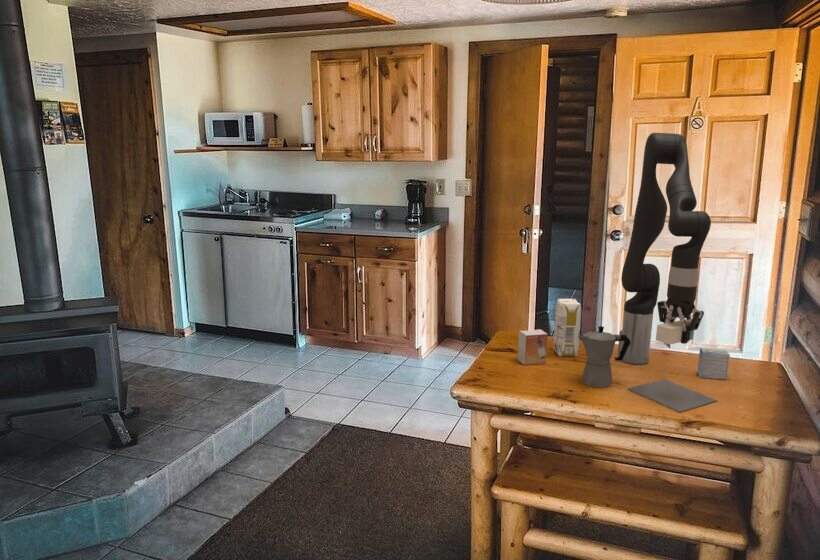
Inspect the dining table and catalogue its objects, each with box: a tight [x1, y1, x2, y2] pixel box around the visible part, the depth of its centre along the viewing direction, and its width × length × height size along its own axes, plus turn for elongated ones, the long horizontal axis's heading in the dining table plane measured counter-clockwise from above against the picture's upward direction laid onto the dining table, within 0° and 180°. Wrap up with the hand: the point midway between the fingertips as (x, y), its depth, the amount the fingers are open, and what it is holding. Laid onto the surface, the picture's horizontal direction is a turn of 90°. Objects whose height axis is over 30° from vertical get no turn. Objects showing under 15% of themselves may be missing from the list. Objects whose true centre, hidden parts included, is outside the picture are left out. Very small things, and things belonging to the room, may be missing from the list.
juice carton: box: [553, 298, 582, 358], centre depth 209 cm, size 8×9×19 cm
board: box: [627, 378, 718, 414], centre depth 176 cm, size 18×16×1 cm
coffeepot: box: [578, 325, 630, 389], centre depth 183 cm, size 15×9×18 cm, turn 82°
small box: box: [517, 328, 549, 366], centre depth 201 cm, size 8×6×10 cm
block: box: [655, 320, 695, 345], centre depth 171 cm, size 4×4×10 cm
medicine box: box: [697, 347, 731, 381], centre depth 190 cm, size 8×4×9 cm, turn 74°
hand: (676, 340), depth 172 cm, fingers closed on block, 4 cm apart
